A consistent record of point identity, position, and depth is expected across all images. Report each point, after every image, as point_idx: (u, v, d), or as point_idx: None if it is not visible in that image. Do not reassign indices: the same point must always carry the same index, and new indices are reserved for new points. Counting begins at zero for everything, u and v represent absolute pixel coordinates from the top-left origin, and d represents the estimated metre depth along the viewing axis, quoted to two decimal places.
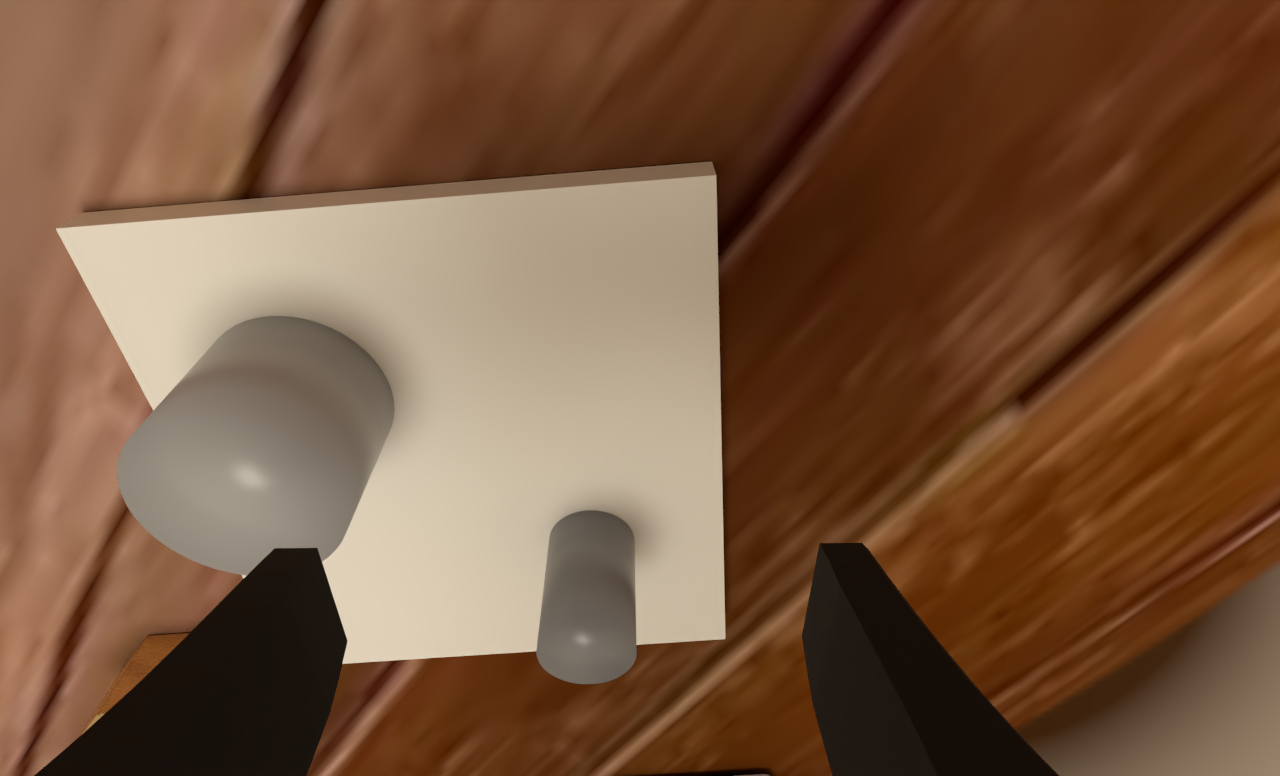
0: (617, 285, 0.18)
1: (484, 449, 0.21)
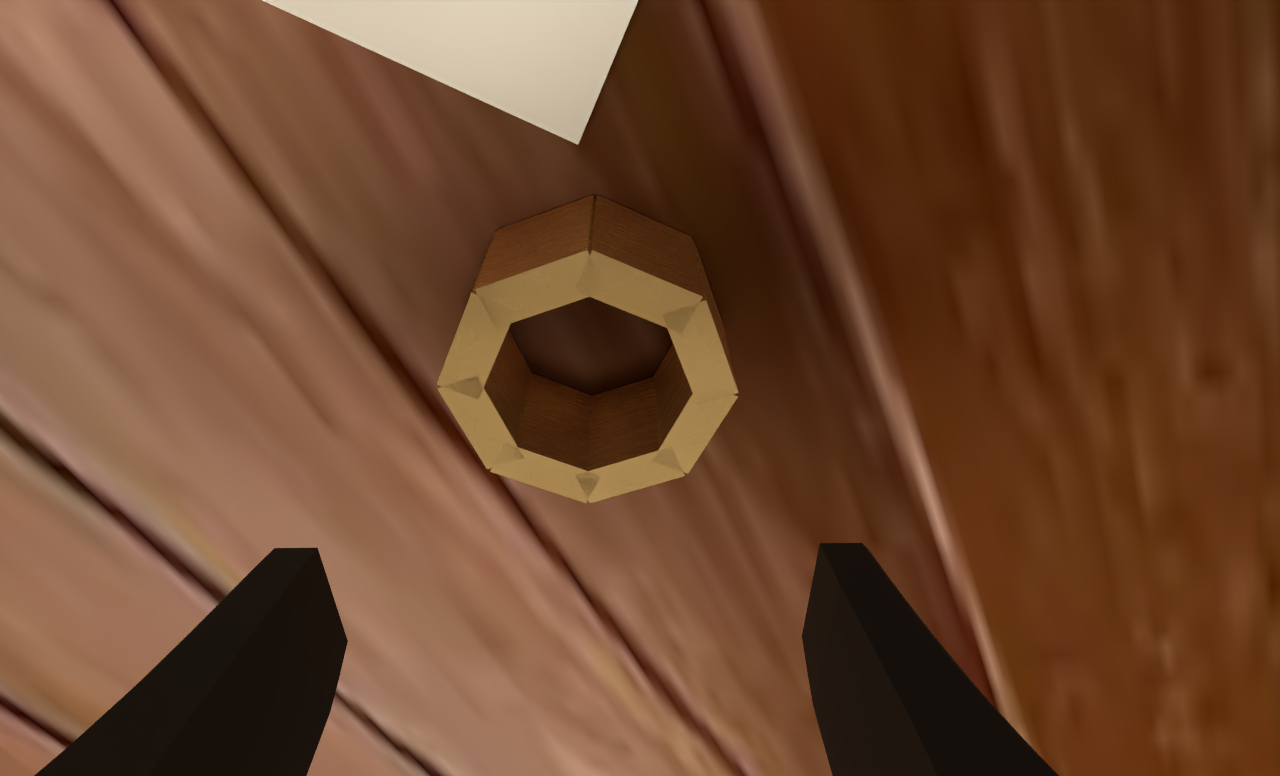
0: None
1: None
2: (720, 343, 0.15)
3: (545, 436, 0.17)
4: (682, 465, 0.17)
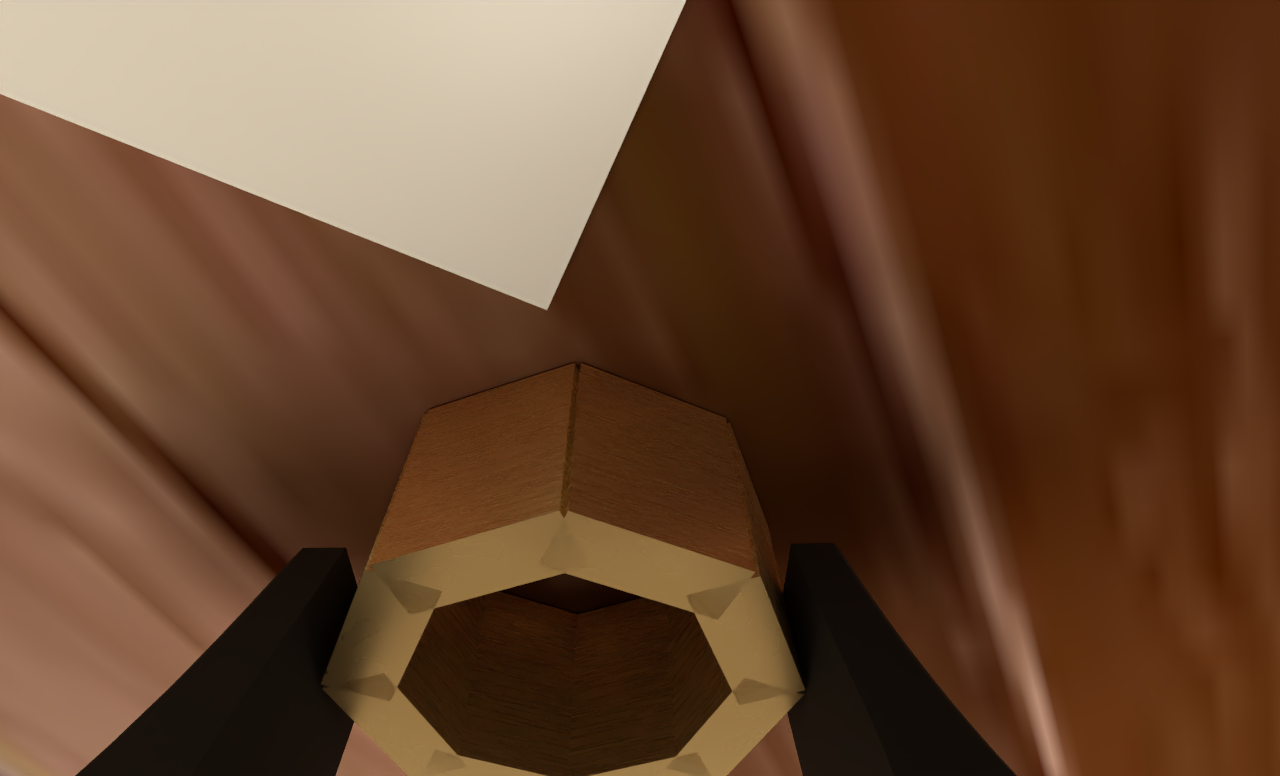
0: None
1: None
2: (780, 630, 0.09)
3: (503, 718, 0.11)
4: (712, 773, 0.11)
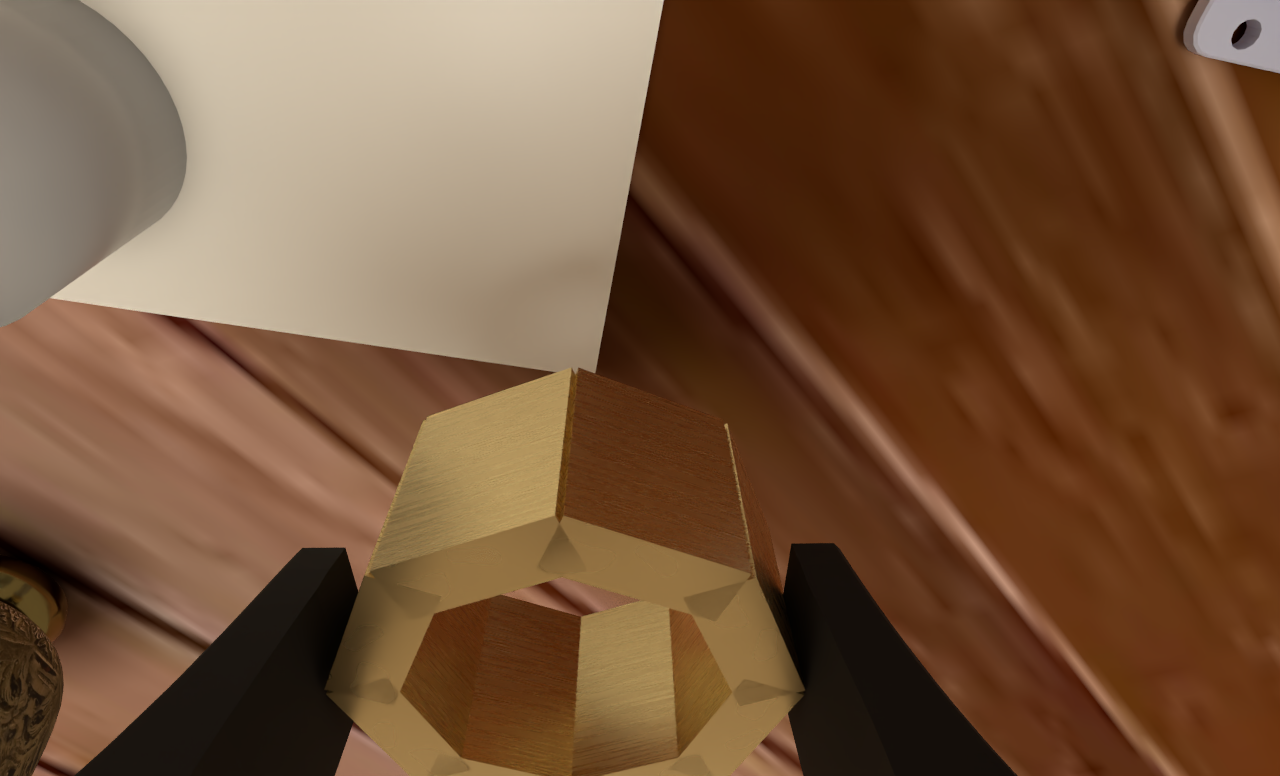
0: None
1: None
2: (778, 631, 0.09)
3: (507, 721, 0.11)
4: (715, 774, 0.11)
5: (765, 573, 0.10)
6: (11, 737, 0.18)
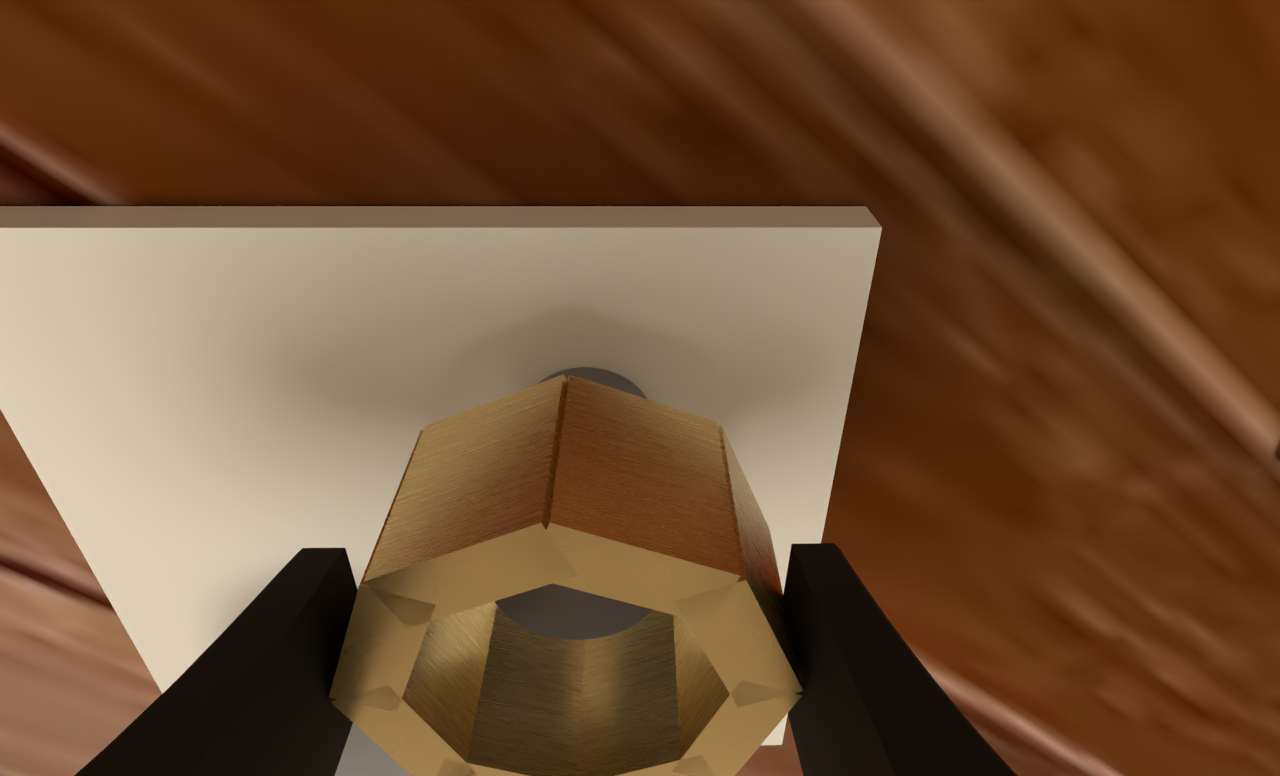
0: (111, 356, 0.14)
1: None
2: (772, 632, 0.09)
3: (512, 725, 0.11)
4: (718, 775, 0.11)
5: (759, 574, 0.10)
6: None
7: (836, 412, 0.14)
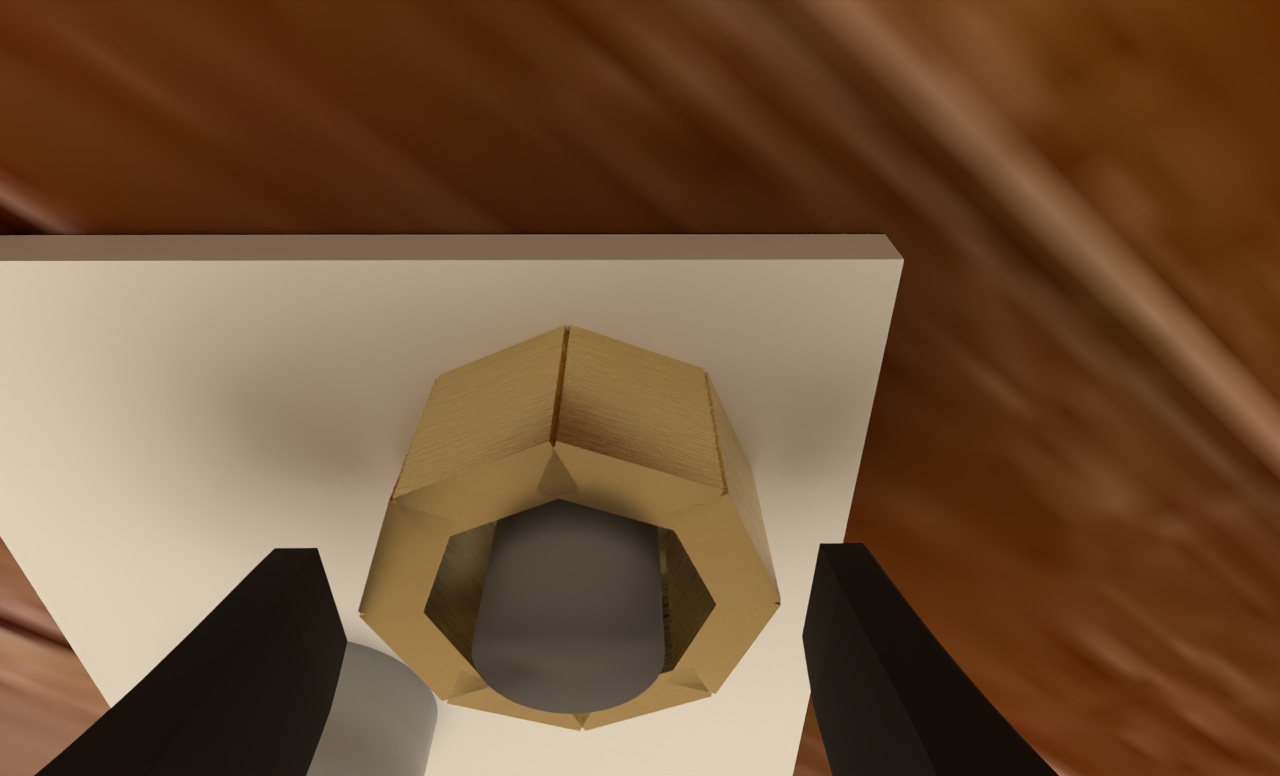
0: (64, 397, 0.12)
1: None
2: (752, 544, 0.10)
3: None
4: (707, 685, 0.12)
5: (741, 497, 0.11)
6: None
7: (851, 454, 0.13)
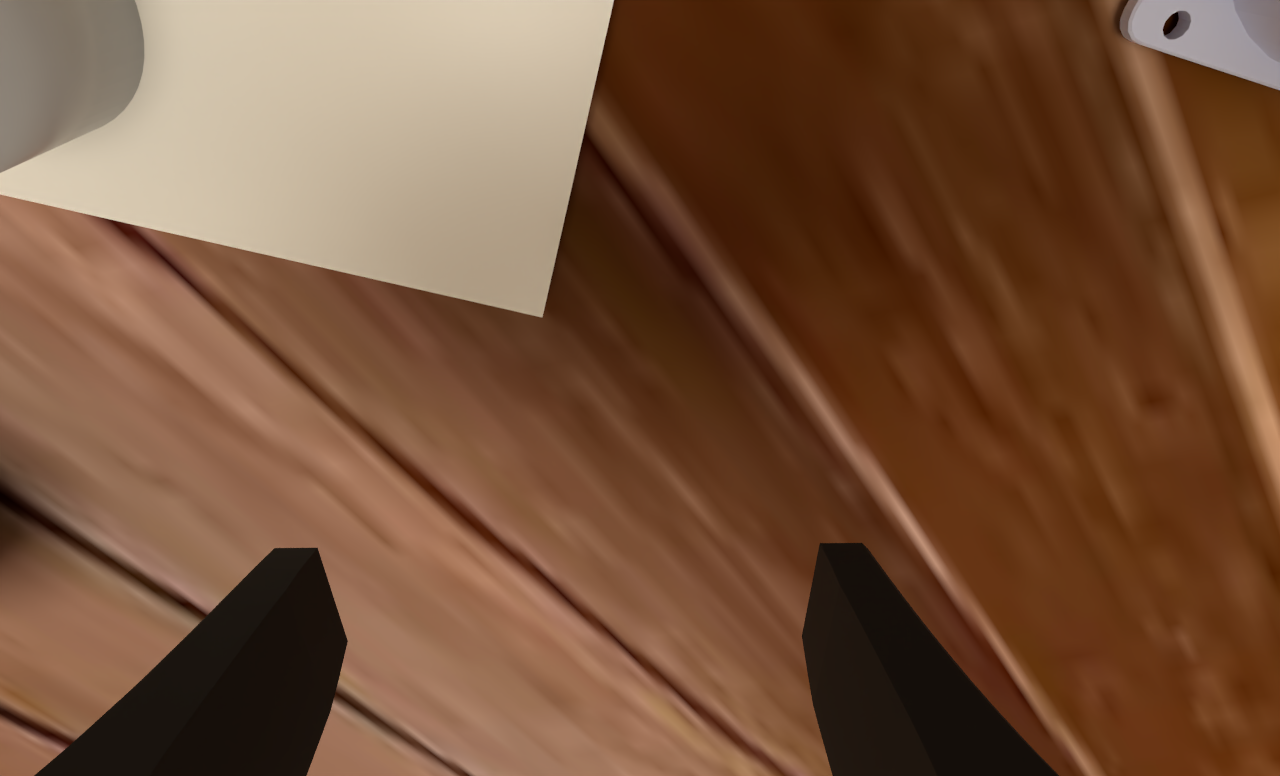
0: None
1: None
2: None
3: None
4: None
5: None
6: None
7: None
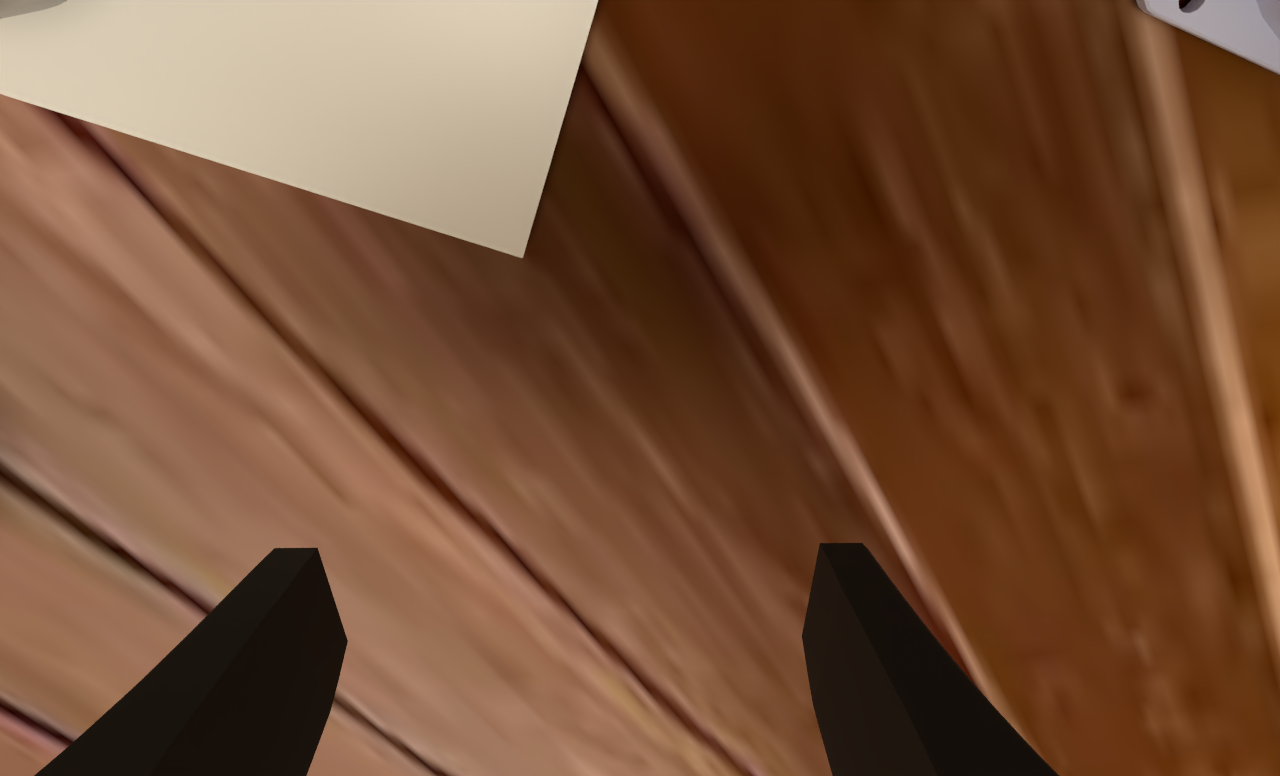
0: None
1: None
2: None
3: None
4: None
5: None
6: None
7: None
